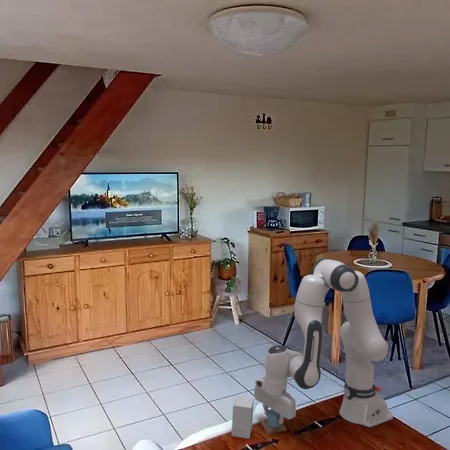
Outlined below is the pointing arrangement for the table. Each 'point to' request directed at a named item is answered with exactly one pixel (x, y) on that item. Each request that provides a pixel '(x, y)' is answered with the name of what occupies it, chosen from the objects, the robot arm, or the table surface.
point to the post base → (272, 430)
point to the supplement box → (242, 417)
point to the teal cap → (273, 419)
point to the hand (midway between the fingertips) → (273, 418)
